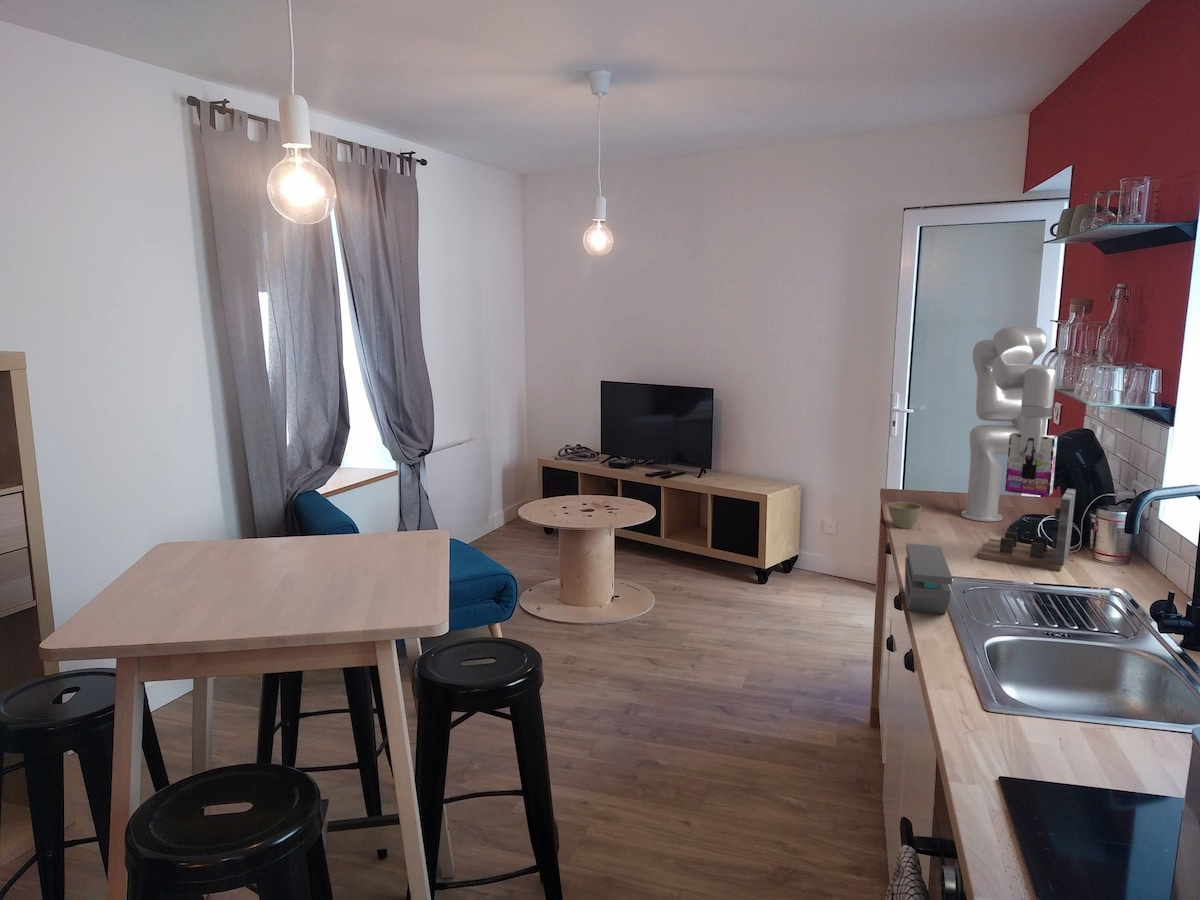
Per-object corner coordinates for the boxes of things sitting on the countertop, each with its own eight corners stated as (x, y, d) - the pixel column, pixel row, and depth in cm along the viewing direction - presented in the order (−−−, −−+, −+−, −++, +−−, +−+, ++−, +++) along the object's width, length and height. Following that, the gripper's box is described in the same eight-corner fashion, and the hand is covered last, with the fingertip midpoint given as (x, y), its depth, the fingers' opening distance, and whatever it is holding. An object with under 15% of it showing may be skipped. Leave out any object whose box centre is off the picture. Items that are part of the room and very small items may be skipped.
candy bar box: (1052, 494, 211) (1058, 435, 208) (1049, 497, 207) (1055, 437, 205) (1008, 488, 218) (1013, 431, 215) (1004, 491, 214) (1009, 433, 212)
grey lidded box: (948, 625, 167) (952, 577, 165) (910, 621, 170) (913, 574, 168) (937, 588, 191) (940, 546, 189) (903, 584, 193) (906, 543, 191)
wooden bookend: (989, 543, 229) (995, 479, 226) (1069, 555, 217) (1076, 488, 213) (977, 558, 214) (983, 490, 211) (1062, 572, 202) (1069, 500, 199)
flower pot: (914, 523, 252) (916, 502, 250) (924, 531, 242) (926, 509, 241) (883, 522, 253) (885, 501, 251) (892, 530, 243) (893, 508, 242)
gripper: (1025, 408, 218) (1019, 470, 221) (1015, 414, 204) (1009, 480, 208) (1055, 410, 214) (1049, 473, 217) (1047, 416, 200) (1041, 484, 203)
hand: (1029, 476), depth 212 cm, fingers closed on candy bar box, 5 cm apart
